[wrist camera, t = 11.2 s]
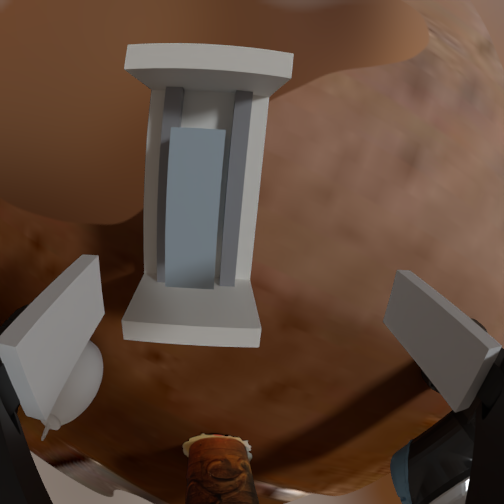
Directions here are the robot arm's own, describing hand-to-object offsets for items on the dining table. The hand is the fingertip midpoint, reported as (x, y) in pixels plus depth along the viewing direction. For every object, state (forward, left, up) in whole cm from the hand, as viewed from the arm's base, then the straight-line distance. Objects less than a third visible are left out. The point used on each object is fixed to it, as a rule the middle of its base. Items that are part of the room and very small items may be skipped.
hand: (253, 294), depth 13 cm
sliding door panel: (+1, +3, -21) cm, 21 cm away
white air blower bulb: (-22, +19, -23) cm, 37 cm away
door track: (+1, +3, -23) cm, 23 cm away
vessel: (-46, -1, -23) cm, 51 cm away
